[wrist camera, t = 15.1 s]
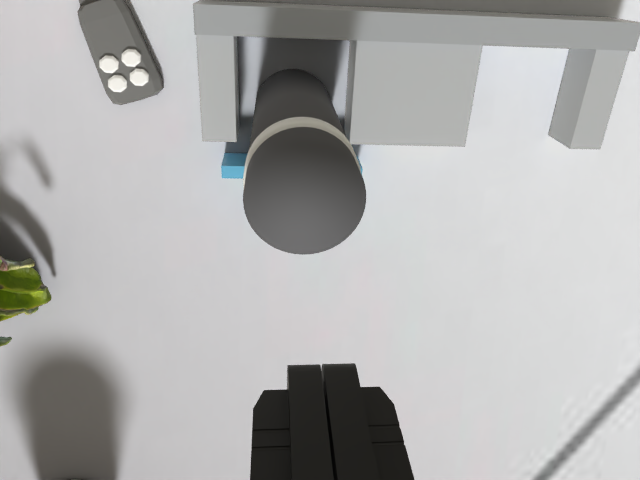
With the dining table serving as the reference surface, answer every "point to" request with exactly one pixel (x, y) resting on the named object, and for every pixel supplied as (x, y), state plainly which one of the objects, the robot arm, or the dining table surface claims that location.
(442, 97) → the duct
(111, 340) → the dining table surface
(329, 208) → the grey cylinder white band
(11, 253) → the dining table surface
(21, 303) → the green leafy clump
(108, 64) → the key chain
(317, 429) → the robot arm
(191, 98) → the dining table surface
